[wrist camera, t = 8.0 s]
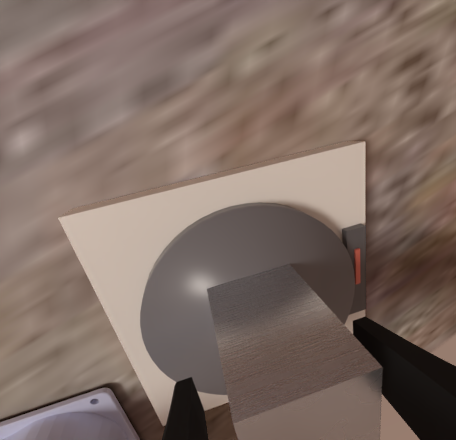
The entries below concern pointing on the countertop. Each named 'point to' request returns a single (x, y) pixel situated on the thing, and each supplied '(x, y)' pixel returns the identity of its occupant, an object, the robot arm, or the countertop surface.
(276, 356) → the block
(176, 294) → the kitchen scale
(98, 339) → the countertop surface
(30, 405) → the countertop surface
